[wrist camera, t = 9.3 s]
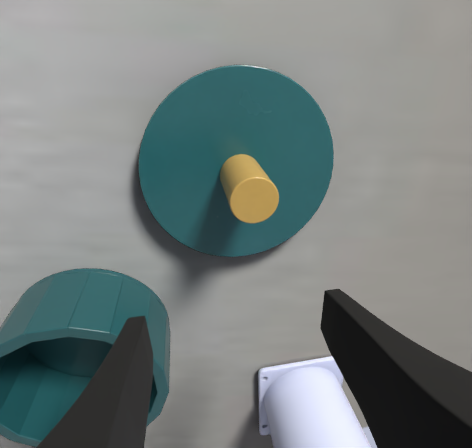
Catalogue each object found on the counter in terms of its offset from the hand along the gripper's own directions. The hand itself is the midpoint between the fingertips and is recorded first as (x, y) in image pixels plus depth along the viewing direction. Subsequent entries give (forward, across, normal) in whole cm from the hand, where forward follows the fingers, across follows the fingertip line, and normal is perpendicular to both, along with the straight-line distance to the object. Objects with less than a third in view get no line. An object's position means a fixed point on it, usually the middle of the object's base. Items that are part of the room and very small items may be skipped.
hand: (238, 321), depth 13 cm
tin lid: (+9, -2, -3) cm, 9 cm away
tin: (+9, +9, +8) cm, 15 cm away
